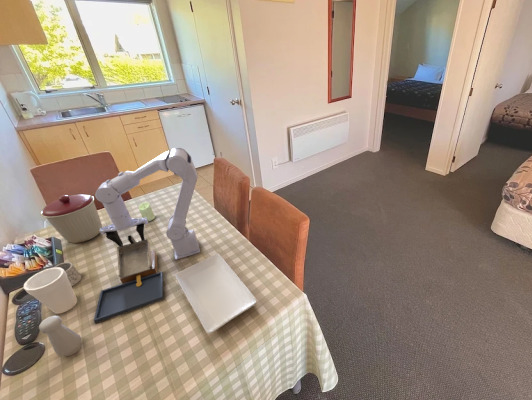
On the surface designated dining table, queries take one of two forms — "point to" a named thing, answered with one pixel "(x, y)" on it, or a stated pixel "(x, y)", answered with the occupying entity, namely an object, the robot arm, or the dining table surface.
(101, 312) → the tray
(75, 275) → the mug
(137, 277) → the key
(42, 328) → the salt shaker
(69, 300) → the foam cup
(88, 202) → the canister
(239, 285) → the tray
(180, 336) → the dining table surface
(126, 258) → the dish
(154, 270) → the shallow wooden box
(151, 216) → the candle
